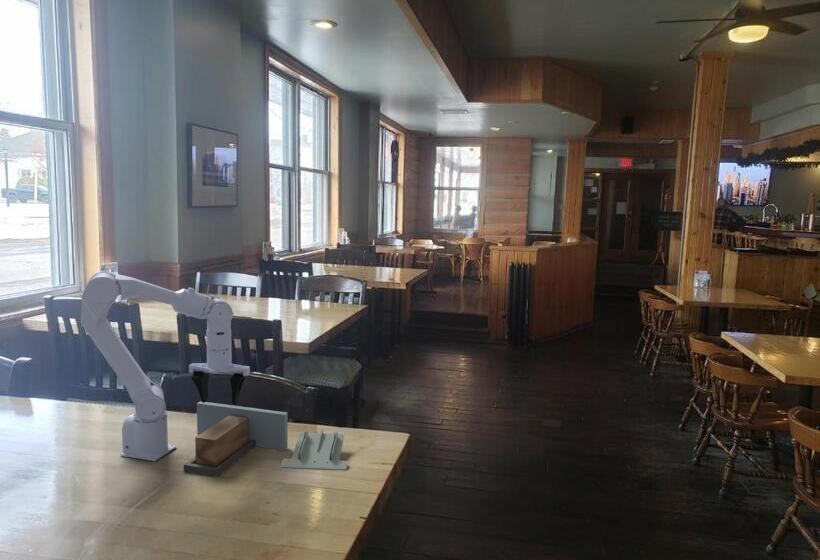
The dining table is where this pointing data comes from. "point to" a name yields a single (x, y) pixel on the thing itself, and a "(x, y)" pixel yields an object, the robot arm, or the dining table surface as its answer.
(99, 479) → the dining table surface
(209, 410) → the wall board
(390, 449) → the dining table surface
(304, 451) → the metal bracket
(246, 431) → the brown wooden block
